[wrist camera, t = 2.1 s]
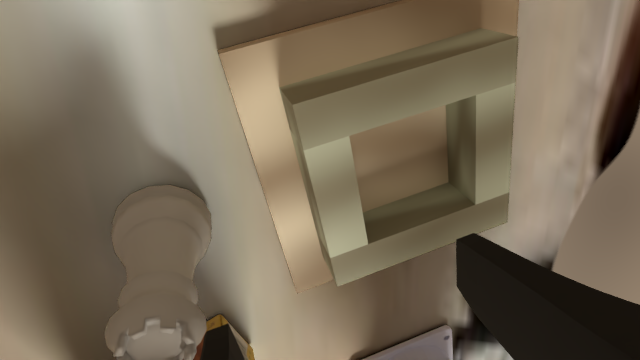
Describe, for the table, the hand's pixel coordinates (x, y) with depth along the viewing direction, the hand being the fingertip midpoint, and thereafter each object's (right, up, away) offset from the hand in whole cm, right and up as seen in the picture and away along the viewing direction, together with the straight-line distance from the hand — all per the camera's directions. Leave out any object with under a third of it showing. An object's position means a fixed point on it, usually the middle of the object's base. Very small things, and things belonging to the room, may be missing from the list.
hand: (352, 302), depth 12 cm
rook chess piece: (-9, +2, +8) cm, 12 cm away
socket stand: (+3, +5, +9) cm, 11 cm away
